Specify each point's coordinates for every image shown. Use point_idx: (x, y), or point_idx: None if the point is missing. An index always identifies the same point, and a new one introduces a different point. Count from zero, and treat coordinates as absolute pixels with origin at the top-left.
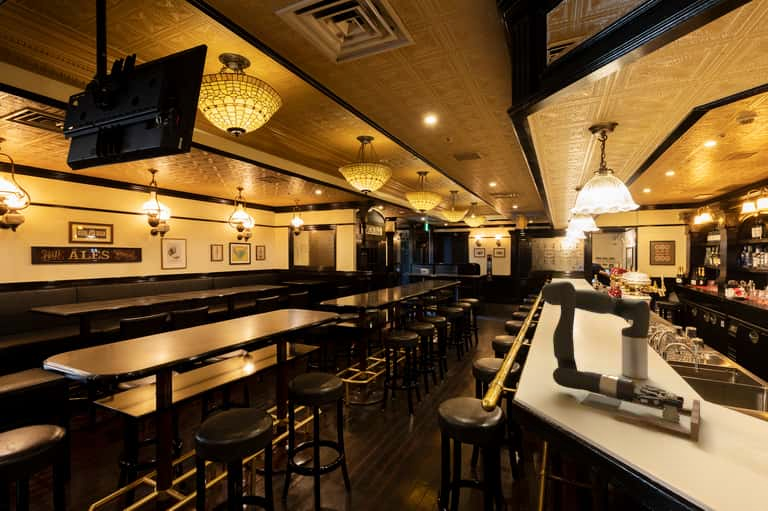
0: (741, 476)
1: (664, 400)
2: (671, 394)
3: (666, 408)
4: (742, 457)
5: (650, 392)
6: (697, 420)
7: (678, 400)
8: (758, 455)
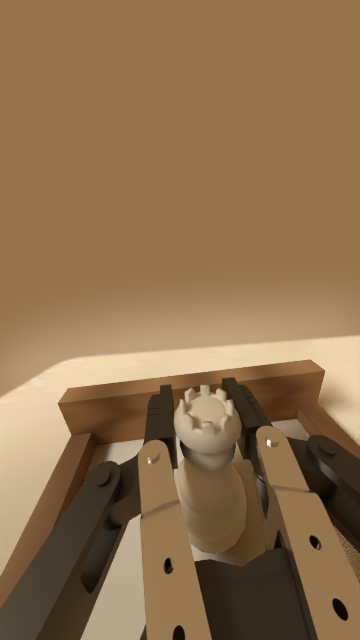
0: (353, 347)
1: (295, 440)
2: (191, 408)
3: (229, 487)
4: (275, 354)
5: (345, 574)
6: (284, 363)
7: (231, 385)
8: (238, 346)
